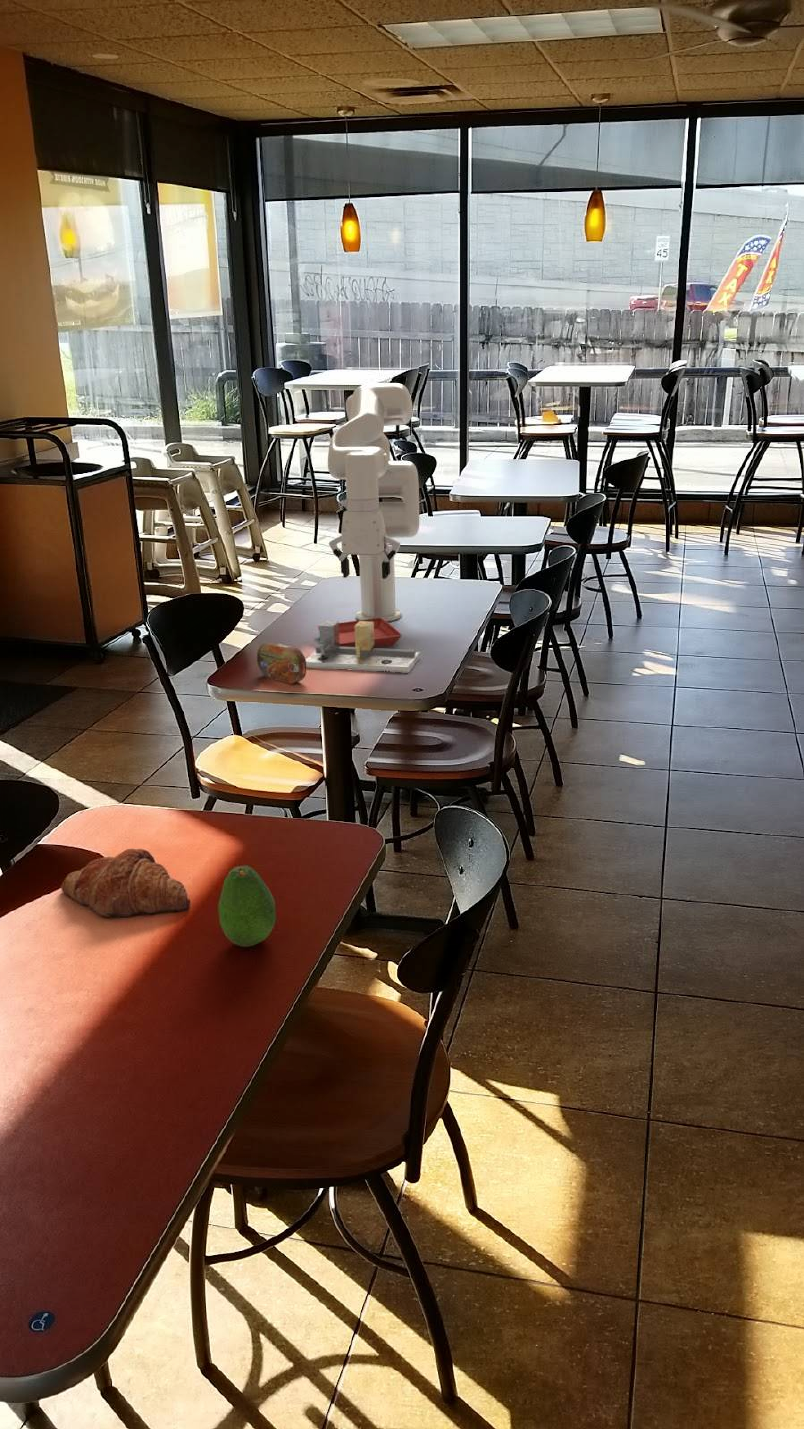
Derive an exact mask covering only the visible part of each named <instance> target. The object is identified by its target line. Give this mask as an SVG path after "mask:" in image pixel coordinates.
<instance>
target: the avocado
mask: <svg viewBox="0 0 804 1429" xmlns="http://www.w3.org/2000/svg"><path fill="white" fill-rule="evenodd" d="M217 909H218V918H219V925H220V927H221V929H222V931H223V933H224V935H225V937H227V939H228V941H230V942H231V943H232V944H234V945H237V946H240V947H242V948H243V947H244V948H247V947H252V946H256V945H257V944H259V943H261V942H263V941H265V940H266V939H267V938H268V937H269V935H270V934H271V933H272V931H273V929H274V926H275V923H276V920H277V913H276V902H275V899H274V896H273V895H272V893H271V891H270V888H269V887H268V885H266V883H265V882H264V881H263V879H262V877H261V876H260V875H259V873H257V871H255V869H253V868H252V867H251V866H248V865H247V864H246V865H241V866H234V868H232V869H231V870H230V871H229V872H228V874H227V875H226V876H225V879H224V883H223V885H222V888H221V893H220V896H219V901H218V904H217Z"/></svg>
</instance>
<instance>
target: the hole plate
mask: <svg viewBox="0 0 804 1429" xmlns="http://www.w3.org/2000/svg"><path fill="white" fill-rule="evenodd" d="M339 623H340V621H338V620H337V621H336V620H335V621H334V620H324V621H323V622H321V623H320V624H319V625H318V626H319V630H318V631H319V632H318V633H319V644H318V645H316V646H315V650H314V651H313V652H311V654H310V655H309V656H308V657H307V658H305V659H306V669H319V670H320V669H322V670H337V669H351V670H350V671H357V670H365V671H364V672H376V671H384V672H383V673H395V672H401V673H400V674H409V673H410V672H411V671H412V668H414V666H415V665H416V664H417V663H418V661H419V660H420V659H421V655H420V654H421V652H420V651H416V649H403V648H402V649H401V648H382V647H374V648H372V649H371V650H360V659H357V652H356V648H355V647H341V646H339V645H340V640H339ZM415 663H416V664H415ZM385 671H387V672H385ZM388 671H390V672H388Z"/></svg>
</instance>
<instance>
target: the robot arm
mask: <svg viewBox="0 0 804 1429" xmlns="http://www.w3.org/2000/svg"><path fill="white" fill-rule="evenodd" d="M345 410H346V414H347V415H346V416H347V419H348V421H347V422H345V423H344V424H343V425H341V426H340V427H339V428H338V429H337V430H336V431H334V433H333V434H332V436H331V438H330V439H329V440H330V441H329V445H328V446H329V447H328V452H327V453H328V454H327V468H328V472H329V475H330V476H331V477H332V478H334V479H336V480H345V491H346V497H345V499H344V500H343V499H342V500H340V505H341V507H344V508H345V511H343V514H342V524H341V535H339V536H338V537H336V538H334V539H332V540H330V541H329V542H328V545H329V547H330V549H331V550H332V553H333V554H334V556H335V557H336V558H338V561H339V562H340V572H341V574H342V575H343V576H342V577H343V578H344V579H345V578H348V577H349V576H350V574H351V573H350V572H351V571H350V559H349V558H348V556H352V555H353V556H356V555H357V556H358V558H359V560H358V561H359V563H358V564H359V582H360V583H359V584H360V605H361V606H360V607H361V609H360V610H357V611H356V613H355V618H356V619H357V620H366V619H374V618H382V619H384V620H385V621H386V622H387V623H388V622H391V621H395V620H398V619H400V618H401V617H402V611H401V610H400V609H398V608H397V607H396V602H397V601H396V576H395V572H396V571H395V556H396V554H397V553H398V550H399V549H400V547H401V542H400V541H397V539H396V538H398V539H400V538H412V537H415V536H416V535H417V534H418V533H419V530H420V493H419V492H420V489H419V488H420V487H419V475H418V474H419V472H418V469H417V467H416V465H415V463H413V462H412V461H409V460H391V454H390V453H391V450H390V449H391V446H390V441H389V438H388V437H387V435H385V433H384V430H385V428H384V427H385V426H402V425H403V426H404V425H407V424H409V423H410V421H411V419H412V417H413V401H412V397H411V394H410V391H409V389H408V388H407V386H405V385H404V384H402V383H398V382H390V383H387V382H386V383H366V384H362V385H359V386H358V387H356V389H355V390H354V391H353V394H351V395H350V396H348V397H347V399H346V401H345ZM379 498H400V499H401V500H402V501H379V500H380V499H379ZM340 543H341V549H340V548H339V547H338V544H340ZM391 547H392V548H391Z"/></svg>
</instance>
